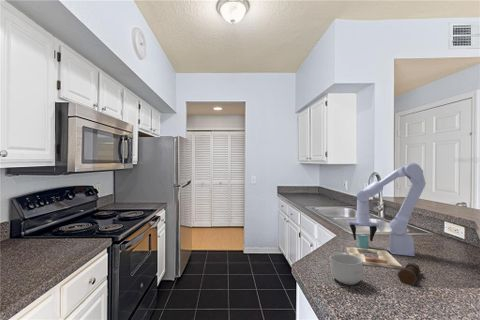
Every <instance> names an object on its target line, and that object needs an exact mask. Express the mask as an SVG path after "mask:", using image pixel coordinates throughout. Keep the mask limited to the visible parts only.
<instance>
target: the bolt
mask: <svg viewBox="0 0 480 320" xmlns="http://www.w3.org/2000/svg"><path fill="white" fill-rule="evenodd" d="M421 272H422V271H421V269H420V266H419V265H418V264H416V263H413V262H408V263H407V265H405V267H402V269H399V271H398V272H397V277H398V279H399V281H400V282H401V283H403V284H404V285H405V284H406V285H408V286H414V284H415V283H416V282H417V280H418V279H419V278H418V276H419V275H420V273H421Z"/></svg>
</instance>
